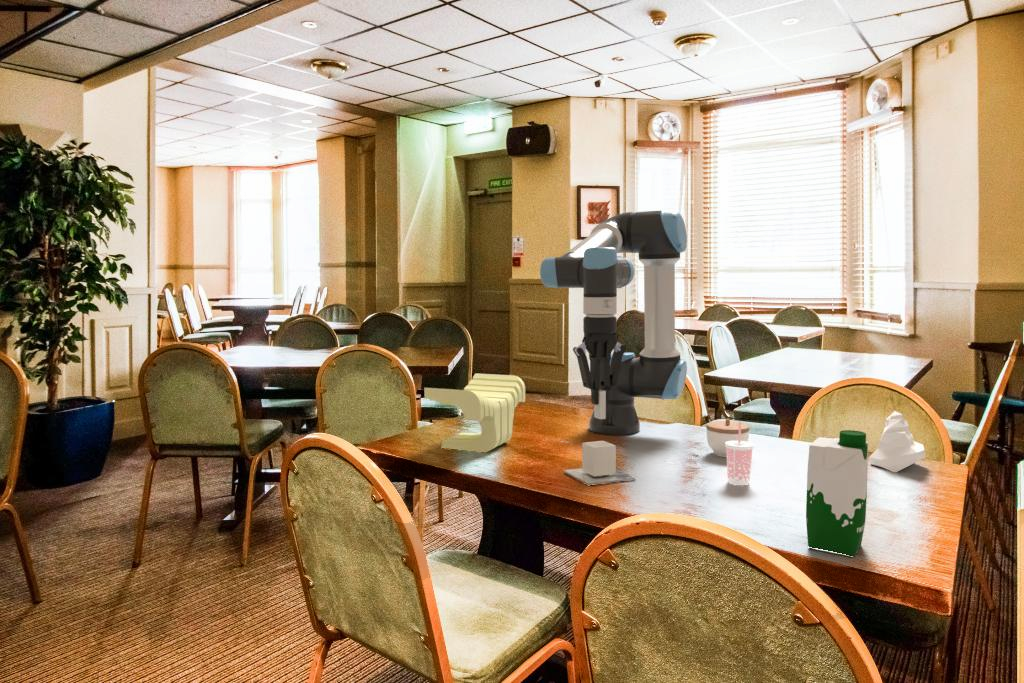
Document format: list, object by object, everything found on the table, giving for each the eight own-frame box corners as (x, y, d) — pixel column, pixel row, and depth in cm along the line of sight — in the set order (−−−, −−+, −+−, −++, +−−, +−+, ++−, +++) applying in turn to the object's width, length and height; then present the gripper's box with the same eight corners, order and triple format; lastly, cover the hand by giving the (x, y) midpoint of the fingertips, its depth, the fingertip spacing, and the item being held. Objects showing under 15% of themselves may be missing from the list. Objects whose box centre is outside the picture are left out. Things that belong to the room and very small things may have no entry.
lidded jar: (755, 454, 186) (756, 418, 186) (737, 462, 179) (738, 424, 178) (717, 447, 194) (718, 413, 193) (698, 454, 186) (698, 419, 185)
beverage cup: (757, 482, 160) (759, 421, 159) (745, 488, 156) (747, 425, 155) (731, 477, 164) (732, 417, 163) (719, 483, 160) (720, 421, 159)
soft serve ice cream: (864, 475, 172) (852, 416, 174) (882, 468, 183) (871, 413, 185) (921, 471, 164) (908, 409, 166) (937, 464, 175) (924, 406, 177)
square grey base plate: (607, 467, 174) (608, 439, 173) (635, 480, 162) (635, 449, 162) (563, 472, 169) (563, 443, 168) (588, 486, 158) (588, 455, 157)
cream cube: (603, 468, 169) (603, 440, 169) (615, 473, 164) (615, 445, 164) (582, 470, 167) (582, 442, 167) (594, 476, 162) (594, 447, 161)
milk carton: (859, 561, 116) (864, 439, 114) (800, 549, 121) (804, 432, 119) (867, 544, 123) (872, 429, 121) (811, 534, 128) (815, 423, 126)
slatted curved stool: (480, 461, 180) (480, 391, 178) (425, 455, 186) (424, 387, 184) (525, 437, 207) (525, 376, 206) (475, 432, 213) (475, 373, 212)
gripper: (582, 317, 156) (582, 423, 159) (633, 315, 161) (632, 418, 164) (566, 315, 163) (567, 417, 166) (616, 313, 168) (615, 412, 171)
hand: (599, 417), depth 165 cm, fingers closed
